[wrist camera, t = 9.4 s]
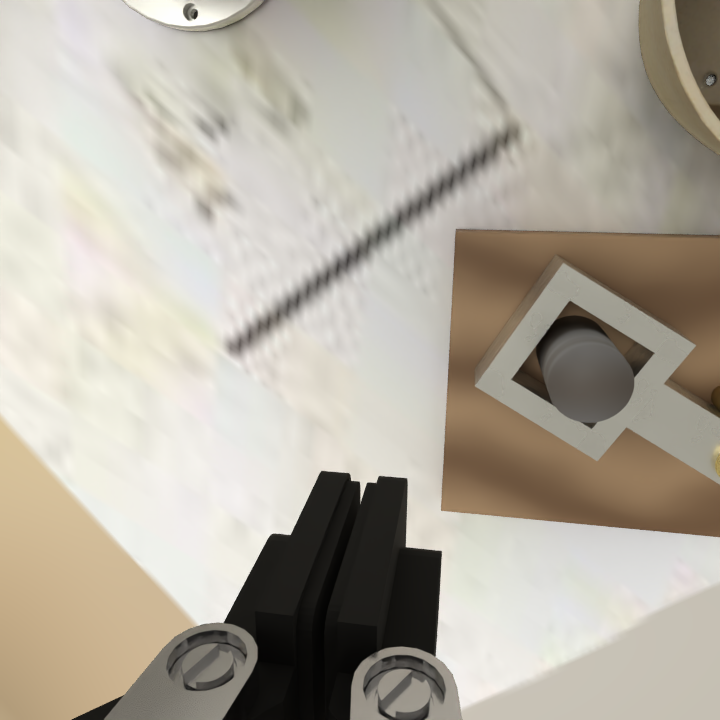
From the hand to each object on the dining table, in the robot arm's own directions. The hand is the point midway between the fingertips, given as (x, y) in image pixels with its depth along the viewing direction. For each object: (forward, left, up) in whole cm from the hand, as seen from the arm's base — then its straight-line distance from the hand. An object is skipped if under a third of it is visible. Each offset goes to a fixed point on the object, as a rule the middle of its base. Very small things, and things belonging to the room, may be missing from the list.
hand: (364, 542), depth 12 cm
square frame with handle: (+5, +11, -25) cm, 28 cm away
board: (+6, +10, -27) cm, 30 cm away
